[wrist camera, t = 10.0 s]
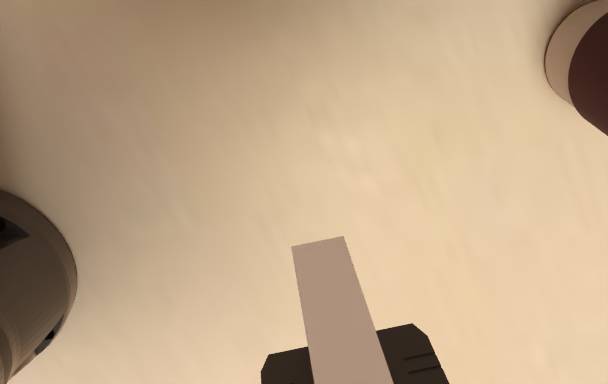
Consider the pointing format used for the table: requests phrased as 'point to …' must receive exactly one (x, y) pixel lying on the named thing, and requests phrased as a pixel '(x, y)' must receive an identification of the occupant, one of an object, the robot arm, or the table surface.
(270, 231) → the table surface
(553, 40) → the coffee cup
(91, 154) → the table surface
